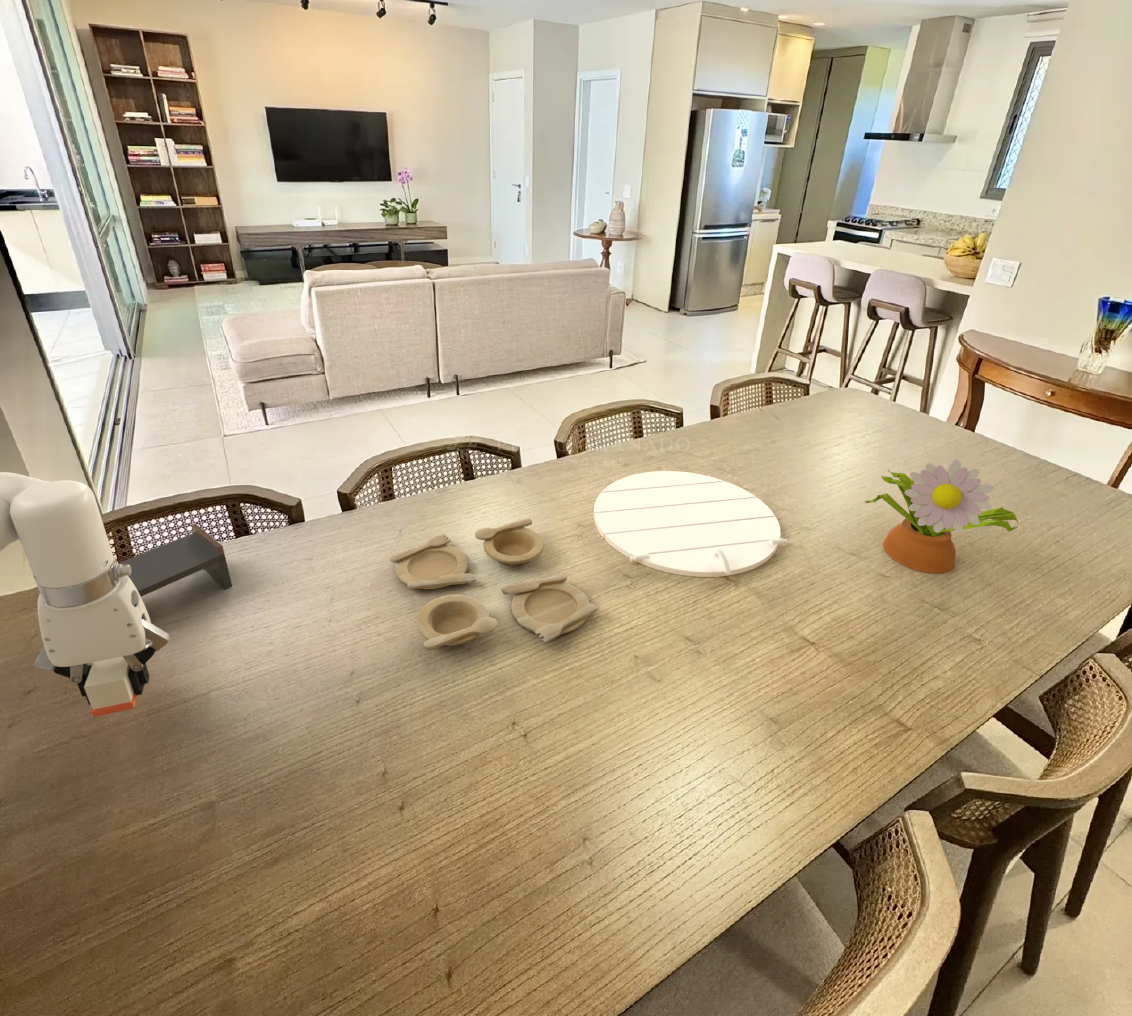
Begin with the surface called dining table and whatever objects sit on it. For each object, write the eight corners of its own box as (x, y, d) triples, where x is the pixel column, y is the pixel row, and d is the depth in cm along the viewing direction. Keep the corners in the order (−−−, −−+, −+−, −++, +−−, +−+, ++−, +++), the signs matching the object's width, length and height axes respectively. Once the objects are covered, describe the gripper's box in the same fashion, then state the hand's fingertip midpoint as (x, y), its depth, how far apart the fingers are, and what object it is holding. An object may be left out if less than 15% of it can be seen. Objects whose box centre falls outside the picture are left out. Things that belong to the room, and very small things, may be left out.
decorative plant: (849, 565, 123) (883, 450, 112) (855, 507, 143) (884, 405, 132) (1009, 608, 114) (1063, 487, 103) (992, 539, 134) (1036, 432, 122)
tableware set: (608, 631, 104) (610, 612, 103) (433, 687, 93) (431, 666, 91) (527, 522, 132) (527, 505, 131) (385, 554, 121) (383, 536, 119)
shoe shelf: (130, 635, 100) (115, 591, 96) (106, 606, 105) (91, 564, 101) (232, 586, 111) (222, 545, 107) (206, 562, 116) (195, 523, 113)
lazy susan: (820, 567, 122) (824, 552, 121) (628, 591, 114) (629, 576, 112) (727, 469, 157) (729, 457, 156) (574, 482, 148) (575, 469, 147)
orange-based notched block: (133, 708, 82) (124, 680, 79) (93, 717, 80) (82, 688, 78) (148, 653, 90) (140, 626, 88) (111, 660, 88) (102, 633, 86)
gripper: (166, 550, 81) (195, 657, 89) (4, 574, 75) (49, 685, 83) (156, 587, 75) (187, 697, 83) (-22, 615, 69) (30, 731, 77)
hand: (118, 690), depth 83 cm, fingers closed on orange-based notched block, 4 cm apart
